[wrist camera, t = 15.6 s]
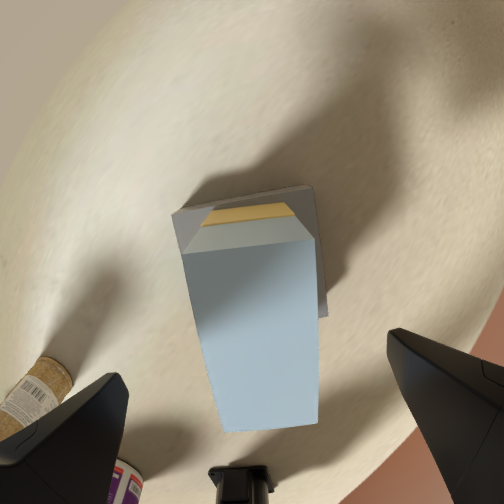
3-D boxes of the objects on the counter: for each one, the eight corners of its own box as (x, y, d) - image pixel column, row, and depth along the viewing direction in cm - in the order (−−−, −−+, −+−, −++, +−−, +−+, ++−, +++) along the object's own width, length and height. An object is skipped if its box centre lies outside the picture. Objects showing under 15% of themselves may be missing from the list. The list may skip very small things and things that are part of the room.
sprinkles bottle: (32, 367, 23) (-36, 451, 10) (46, 347, 22) (-33, 441, 10) (64, 397, 24) (7, 490, 11) (81, 380, 23) (17, 485, 11)
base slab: (318, 296, 22) (328, 316, 19) (209, 315, 22) (204, 337, 19) (303, 184, 19) (312, 187, 16) (182, 207, 20) (171, 214, 17)
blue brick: (304, 368, 15) (317, 423, 11) (228, 376, 15) (224, 432, 11) (295, 215, 13) (314, 238, 9) (201, 226, 13) (181, 254, 9)
